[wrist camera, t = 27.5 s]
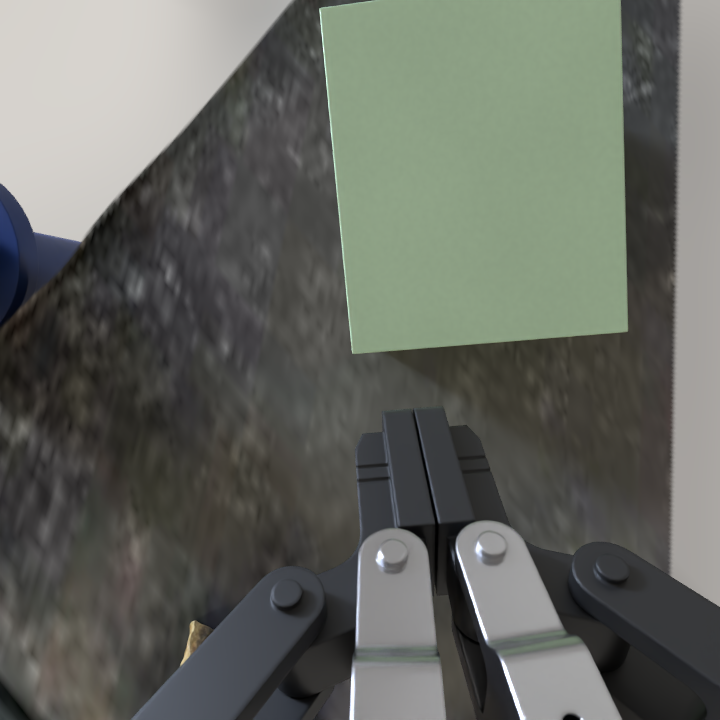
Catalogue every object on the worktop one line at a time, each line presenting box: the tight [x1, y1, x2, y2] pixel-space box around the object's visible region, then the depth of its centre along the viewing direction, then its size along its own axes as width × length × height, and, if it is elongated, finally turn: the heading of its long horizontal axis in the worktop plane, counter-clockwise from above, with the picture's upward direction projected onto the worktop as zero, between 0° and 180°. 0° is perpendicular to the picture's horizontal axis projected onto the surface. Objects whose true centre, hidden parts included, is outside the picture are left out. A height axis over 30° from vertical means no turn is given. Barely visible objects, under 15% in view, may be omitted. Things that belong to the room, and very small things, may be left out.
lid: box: [320, 0, 628, 354], centre depth 28 cm, size 17×14×1 cm
